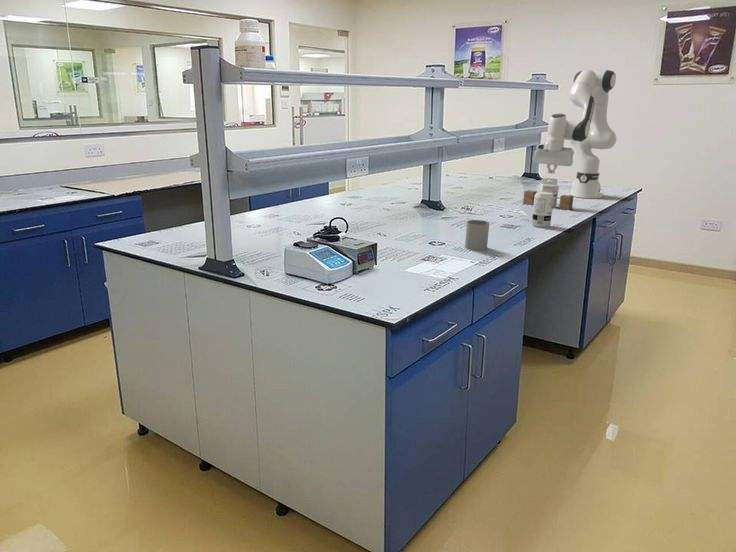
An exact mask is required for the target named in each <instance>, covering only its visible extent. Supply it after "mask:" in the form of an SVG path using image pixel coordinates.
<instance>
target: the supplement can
mask: <svg viewBox="0 0 736 552" xmlns="http://www.w3.org/2000/svg"><path fill="white" fill-rule="evenodd" d="M553 199H554V196H553V193H550V192H540V191H537V192H536V194H535V197H534V205H532V207H533V208H532V214H531V216H532V217H531V225H532V226H533V227H535V228H542V227H543V228H544V227H545V228H549V227H550V226H551V222H552V215H553V208H554V207H553ZM545 228H544V229H545Z"/></svg>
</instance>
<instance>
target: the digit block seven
mask: <svg viewBox="0 0 736 552" xmlns="http://www.w3.org/2000/svg"><path fill="white" fill-rule="evenodd" d="M536 192H538V191H537V190H530V189H527V190H525V191H524V193H523V203H522V204H523V205H527V206H534V197H535V194H536Z"/></svg>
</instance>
